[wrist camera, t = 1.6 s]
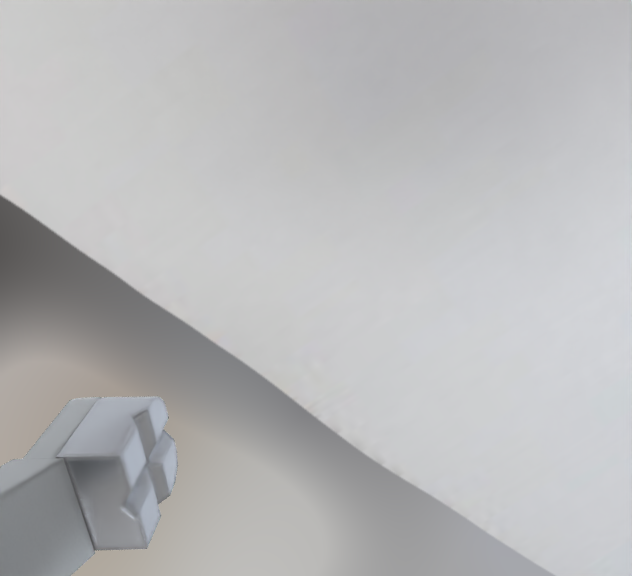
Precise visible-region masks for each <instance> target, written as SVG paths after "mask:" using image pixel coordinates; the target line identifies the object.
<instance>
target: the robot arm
mask: <svg viewBox="0 0 632 576" xmlns="http://www.w3.org/2000/svg"><path fill="white" fill-rule="evenodd" d="M168 418H169V417H168V413H167V409H166V406H165V402H164V401H163V400H162V399H161V398H160V397H104V398H101V397H91V398H76V399H73V400H70V401H69V402H68V403H67V404H66V405H65V407H64V408H63V409H62V411H61V412H60V413H59V414H58V416H57V417H56V418H55V419H54V420H53V422H52V423H51V424H50V425H49V427H48V428H47V429H46V431H45V432H44V433H43V434H42V435H41V436H40V438H39V439H38V440H37V441H36V443H35V444H34V445H33V447H32V448H31V449H30V450H29V451H28V453H27V454H26V455H25V456H24V458H23V459H13V460H11V461H9V462H7V463H6V464H4V465H2V466H0V576H71V575H72V574H73V573H74V572H75V571H76V570H78V568H80V567H81V566H82V565H83V564H84V563H85V562H86V561H87V560H88V559H89V558H91V557H92V556H93V555H94V554H95V550H123V549H147V547H148V545H149V543H150V541H151V538H152V536H153V534H154V531H155V529H156V527H157V524H158V522H159V520H160V517H161V514H160V510H159V506H158V504H159V503H161V502H162V501H163V500H165V499H166V498H167V497H169V496H170V494H171V492H172V489H173V486H174V484H175V480H176V473H177V467H178V462H177V450H176V446H175V441H174V439H173V438H172V437H171V436H170V435H169V434H168V433H167V432H166V431H165V430H164V429H163V428H164V426H165V424H166V422H167V420H168Z"/></svg>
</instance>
